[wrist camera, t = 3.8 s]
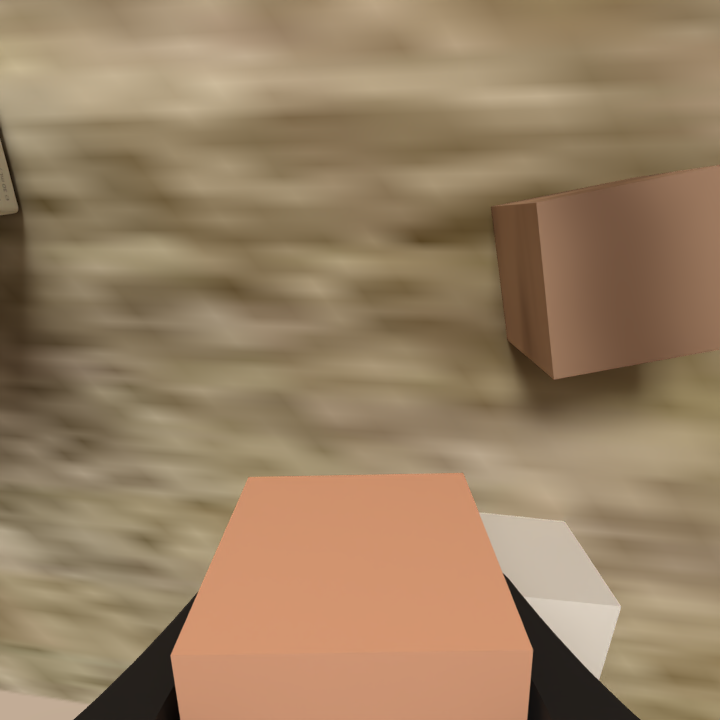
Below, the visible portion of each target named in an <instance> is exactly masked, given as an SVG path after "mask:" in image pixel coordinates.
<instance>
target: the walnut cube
mask: <svg viewBox="0 0 720 720" xmlns="http://www.w3.org/2000/svg"><path fill="white" fill-rule="evenodd" d="M491 210H492V218H493V226H494V235H495V243H496V251H497V259H498V267H499V275H500V283H501V291H502V300H503V308H504V316H505V324H506V332H507V340H508V341H509V342H510V343H511V344H513V345H514V346H515V347H516V348H517V349H518V350H520V351H521V352H522V353H523V354H524V355H526V356H527V357H528V358H529V359H530V360H531V361H533V362H534V363H535V364H536V365H537V366H539V367H540V368H541V369H542V370H543V371H544V372H546V373H547V374H548V375H549V376H550V377H552V378H553V379H560V378H565V377H571V376H576V375H582V374H587V373H593V372H598V371H604V370H609V369H615V368H620V367H626V366H631V365H637V364H642V363H648V362H653V361H659V360H664V359H670V358H675V357H681V356H686V355H692V354H697V353H703V352H708V351H714V350H719V349H720V165H716V166H709V167H703V168H696V169H689V170H682V171H676V172H669V173H662V174H656V175H649V176H642V177H636V178H630V179H625V180H620V181H615V182H610V183H605V184H600V185H595V186H591V187H586V188H581V189H576V190H571V191H566V192H561V193H556V194H551V195H546V196H541V197H537V198H532V199H527V200H522V201H517V202H512V203H507V204H502V205H497V206H492V207H491Z"/></svg>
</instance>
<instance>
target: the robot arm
mask: <svg viewBox="0 0 720 720" xmlns="http://www.w3.org/2000/svg"><path fill="white" fill-rule="evenodd" d="M503 575H504V578H505V580H506V583H507V585H508V588H509V590H510V593H511V595H512V598H513V600H514V603H515V605H516V608H517V610H518V613H519V615H520V618H521V621H522V623H523V626H524V628H525V631H526V633H527V636H528V638H529V641H530V643H531V646H532V648H533V658H532V669H531V681H530V692H529V704H528V716H527V720H640V719H639V718H638V717H637V716H636V715H634V714H633V713H632V712H631V711H630V710H629V709H628V708H627V707H626V706H625V705H624V704H623V703H621V702H620V701H619V700H618V699H617V698H616V697H615V696H614V695H613V694H612V693H611V692H610V691H609V690H608V689H607V688H606V687H605V686H604V685H603V684H602V683H601V682H600V681H599V680H598V679H597V678H596V677H595V676H594V675H593V674H592V673H591V672H590V671H589V670H588V669H587V668H586V667H585V666H584V665H583V664H582V663H581V662H580V661H579V659H578V658H577V657H576V656H575V655H574V654H573V653H572V652H571V651H570V650H569V649H568V648H567V646H566V645H565V644H564V643H563V642H562V641H561V640H560V639H559V638H558V637H557V635H556V634H555V633H554V632H553V631H552V630H551V629H550V628H549V626H548V625H547V624H546V623H545V622H544V621H543V619H542V618H541V617H540V616H539V615H538V614H537V612H536V611H535V610H534V609H533V608H532V606H531V605H530V604H529V603H528V602H527V600H526V599H525V598H524V597H523V596H522V594H521V593H520V592H519V591H518V589H517V588H516V587H515V586H514V584H513V583H512V582H511V581H510V579H509V578H508V577H507V576H506V575H505V574H504V573H503ZM197 594H198V593H197ZM197 594H196V595H195V596H194V597H193V598H192V599H191V601H190V602H189V603H188V604H187V605H186V606H185V607H184V608H183V610H182V611H181V612H180V613H179V614H178V615H177V616H176V617H175V619H174V620H173V621H172V622H171V623H170V624H169V625H168V626H167V628H166V629H165V630H164V631H163V632H162V633H161V634H160V635H159V636H158V637H157V638H156V639H155V640H154V641H153V643H152V644H151V645H150V646H149V647H148V648H147V649H146V650H145V651H144V652H143V653H142V654H141V655H140V656H139V657H138V658H137V659H136V661H135V662H134V663H133V664H132V665H130V666H129V667H128V668H127V669H126V670H125V671H124V672H123V673H122V674H121V675H120V676H119V677H118V678H117V679H116V680H115V681H114V682H113V683H112V684H111V685H110V686H109V687H108V688H107V689H106V690H105V691H104V692H103V693H102V694H101V695H100V696H99V697H98V698H97V699H96V700H95V701H94V702H92V703H91V704H90V705H89V706H88V707H87V708H86V709H85V710H84V711H83V712H81V713H80V714H79V715H78V716H77V717H76V718H75V719H74V720H180V714H179V707H178V701H177V694H176V688H175V681H174V675H173V668H172V662H171V656H170V655H171V653H172V651H173V649H174V646H175V644H176V642H177V639H178V637H179V635H180V633H181V630H182V628H183V626H184V623H185V621H186V619H187V617H188V614H189V612H190V610H191V607H192V605H193V603H194V601H195V598H196V596H197Z"/></svg>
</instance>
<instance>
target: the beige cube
mask: <svg viewBox="0 0 720 720" xmlns="http://www.w3.org/2000/svg"><path fill="white" fill-rule="evenodd" d="M479 514H480V517H481V519H482V522H483V524H484V527H485V529H486V532H487V535H488V537H489V540H490V542H491V545H492V547H493V550H494V552H495V555H496V557H497V560H498V562H499V565H500V567H501V570H502V572H503V573H504V574H505V575H506V576H507V577H508V578H509V579H510V581H511V582H512V583H513V584H514V586H515V587H516V588H517V589H518V591H519V592H520V593H521V594H522V596H523V597H524V598H525V599H526V600H527V602H528V603H529V604H530V605H531V606H532V608H533V609H534V610H535V611H536V612H537V614H538V615H539V616H540V617H541V618H542V619H543V621H544V622H545V623H546V624H547V625H548V626H549V628H550V629H551V630H552V631H553V632H554V633H555V634H556V635H557V637H558V638H559V639H560V640H561V641H562V642H563V643H564V644H565V645H566V646H567V648H568V649H569V650H570V651H571V652H572V653H573V654H574V655H575V656H576V657H577V658H578V659H579V661H580V662H581V663H582V664H583V665H584V666H585V667H586V668H587V669H588V670H589V671H590V672H591V673H592V674H593V675H594V676H595V677H596V678H597V679H598V680H599V678H600V675H601V672H602V668H603V665H604V662H605V659H606V655H607V652H608V649H609V645H610V642H611V639H612V635H613V632H614V629H615V625H616V622H617V619H618V615H619V612H620V609H621V606H620V604H619V603H618V601H617V600H616V598H615V597H614V595H613V593H612V592H611V590H610V589H609V587H608V586H607V584H606V583H605V581H604V580H603V578H602V577H601V575H600V574H599V572H598V571H597V569H596V568H595V566H594V565H593V563H592V562H591V560H590V559H589V557H588V556H587V554H586V553H585V551H584V550H583V548H582V547H581V545H580V544H579V542H578V541H577V539H576V538H575V536H574V535H573V533H572V532H571V530H570V529H569V527H568V526H567V524H566V522H565V521H557V520H547V519H538V518H528V517H519V516H509V515H500V514H490V513H481V512H479Z"/></svg>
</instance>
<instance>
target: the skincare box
mask: <svg viewBox="0 0 720 720" xmlns="http://www.w3.org/2000/svg"><path fill="white" fill-rule="evenodd" d="M17 212H18V204H17V201H16V197H15V193H14V189H13V185H12V181H11V178H10V173H9V170H8V166H7V162H6V159H5V155H4V151H3V148H2V144H1V140H0V215H6V214H14V213H17Z"/></svg>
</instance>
